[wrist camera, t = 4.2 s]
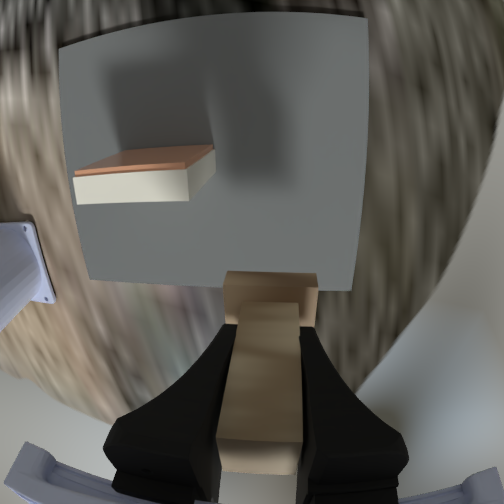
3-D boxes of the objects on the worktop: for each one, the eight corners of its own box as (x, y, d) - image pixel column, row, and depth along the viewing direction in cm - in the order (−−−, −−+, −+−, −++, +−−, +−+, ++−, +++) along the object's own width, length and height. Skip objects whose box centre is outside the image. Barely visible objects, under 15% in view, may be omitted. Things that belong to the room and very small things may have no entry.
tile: (127, 175, 20) (77, 204, 14) (124, 150, 19) (71, 171, 14) (216, 171, 19) (189, 201, 14) (214, 144, 18) (186, 162, 13)
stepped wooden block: (231, 337, 17) (202, 476, 9) (227, 270, 15) (183, 418, 8) (309, 340, 16) (316, 482, 9) (316, 273, 14) (336, 426, 7)
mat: (92, 276, 24) (89, 279, 24) (62, 49, 16) (58, 48, 16) (349, 286, 22) (351, 290, 22) (365, 20, 15) (367, 18, 14)
